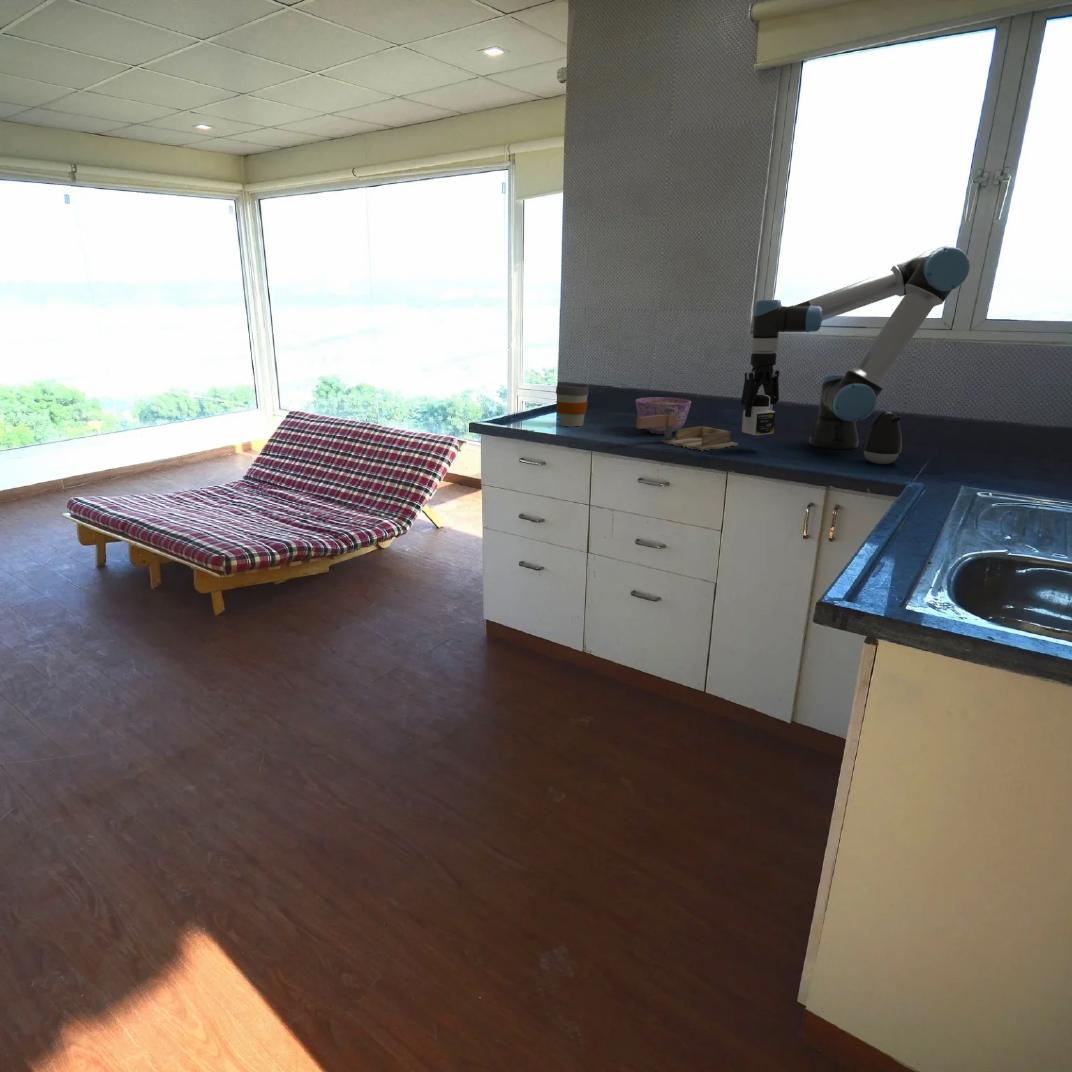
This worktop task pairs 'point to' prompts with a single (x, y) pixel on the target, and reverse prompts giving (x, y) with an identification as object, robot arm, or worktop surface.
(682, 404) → the bowl of food
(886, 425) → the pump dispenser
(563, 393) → the reusable coffee cup
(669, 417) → the hammer
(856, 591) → the worktop surface
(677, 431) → the cradle
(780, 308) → the robot arm
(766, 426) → the medicine bottle
